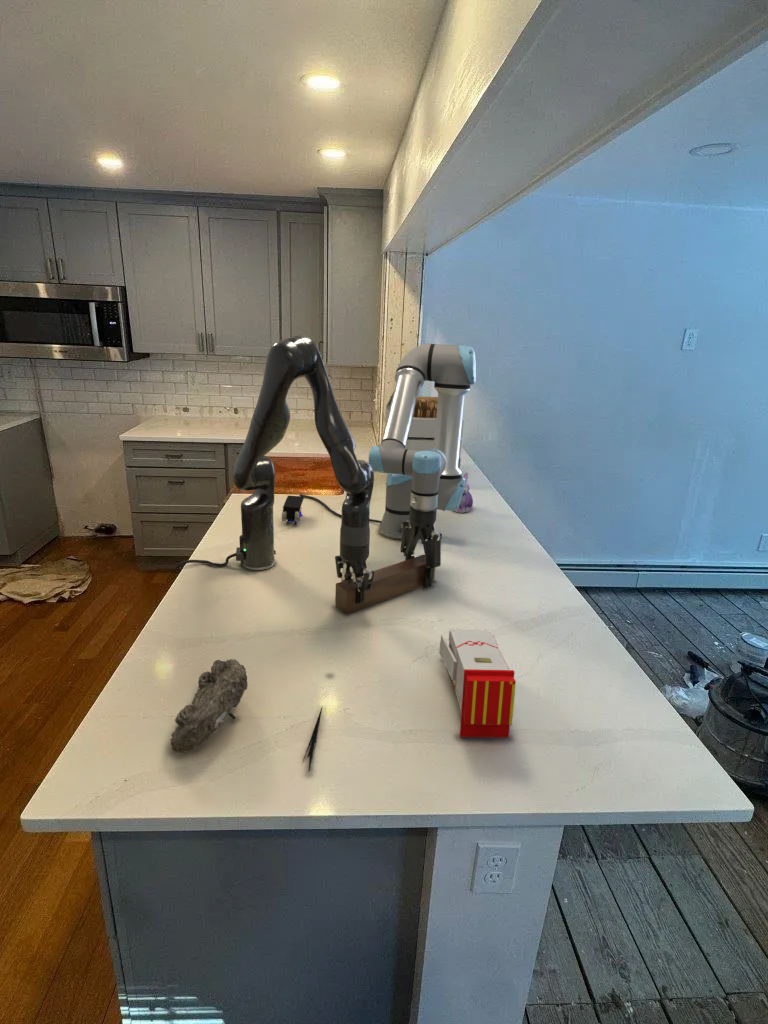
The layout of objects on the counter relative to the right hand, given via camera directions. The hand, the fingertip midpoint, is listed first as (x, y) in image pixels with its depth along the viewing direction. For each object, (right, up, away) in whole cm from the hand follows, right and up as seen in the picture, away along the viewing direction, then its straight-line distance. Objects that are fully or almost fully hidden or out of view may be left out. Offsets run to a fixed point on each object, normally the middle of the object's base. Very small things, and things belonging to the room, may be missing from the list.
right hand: (418, 581), depth 165 cm
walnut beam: (-9, -3, -7) cm, 12 cm away
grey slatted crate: (+7, +39, +110) cm, 117 cm away
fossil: (-42, -19, -57) cm, 73 cm away
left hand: (-18, -3, -16) cm, 24 cm away
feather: (-22, -20, -56) cm, 64 cm away
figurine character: (-43, +17, +43) cm, 63 cm away
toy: (+8, -17, -46) cm, 50 cm away
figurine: (+21, +21, +62) cm, 69 cm away
